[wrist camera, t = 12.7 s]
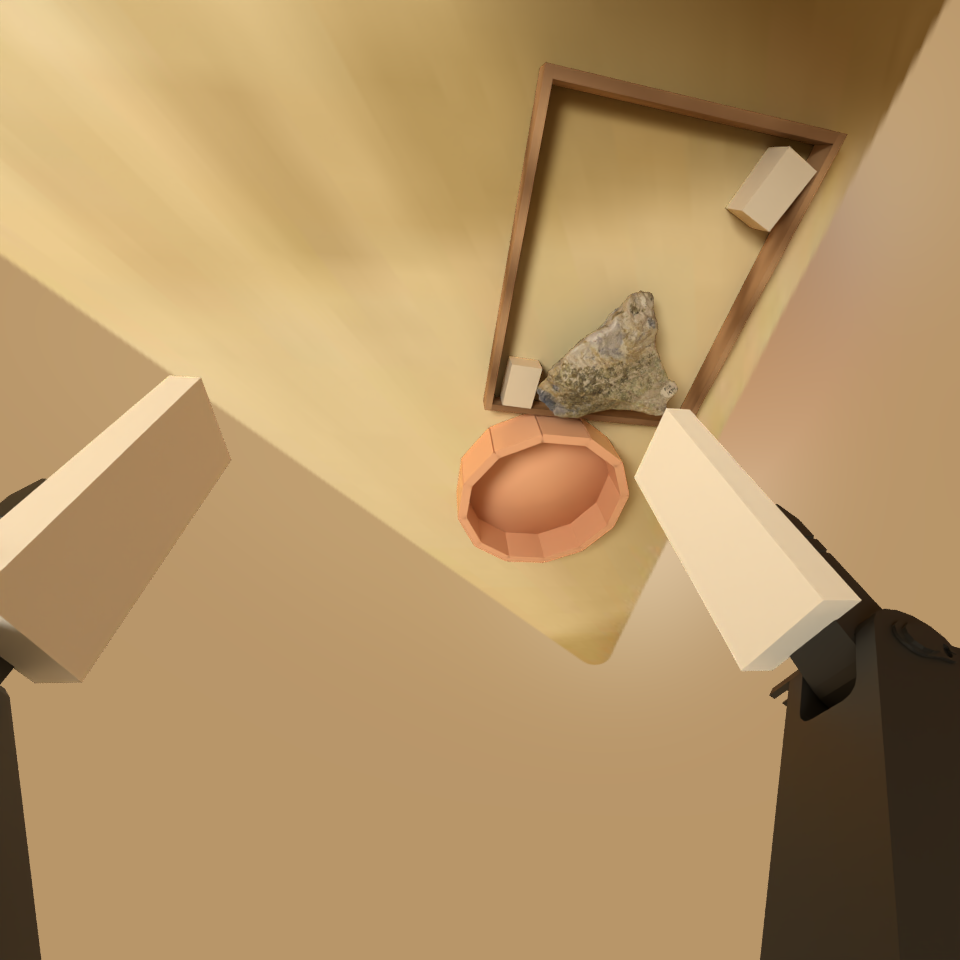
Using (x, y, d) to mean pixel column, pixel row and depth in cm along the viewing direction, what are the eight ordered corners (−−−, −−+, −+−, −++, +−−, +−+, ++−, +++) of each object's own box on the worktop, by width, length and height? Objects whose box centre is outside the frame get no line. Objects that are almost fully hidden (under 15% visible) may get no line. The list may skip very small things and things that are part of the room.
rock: (658, 281, 31) (694, 402, 33) (626, 302, 37) (657, 404, 39) (524, 336, 31) (566, 454, 33) (513, 348, 37) (550, 448, 39)
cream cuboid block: (508, 354, 37) (512, 364, 35) (537, 359, 37) (542, 368, 35) (499, 394, 39) (502, 405, 37) (527, 398, 40) (531, 408, 38)
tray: (539, 67, 25) (545, 62, 24) (827, 135, 28) (847, 134, 27) (483, 400, 39) (484, 409, 38) (679, 420, 42) (687, 429, 41)
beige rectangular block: (766, 147, 29) (789, 146, 27) (793, 170, 30) (816, 171, 28) (723, 207, 31) (742, 210, 29) (749, 227, 32) (769, 231, 30)
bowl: (469, 403, 39) (472, 427, 36) (636, 420, 42) (654, 444, 38) (450, 531, 50) (451, 559, 46) (584, 537, 53) (595, 564, 49)
